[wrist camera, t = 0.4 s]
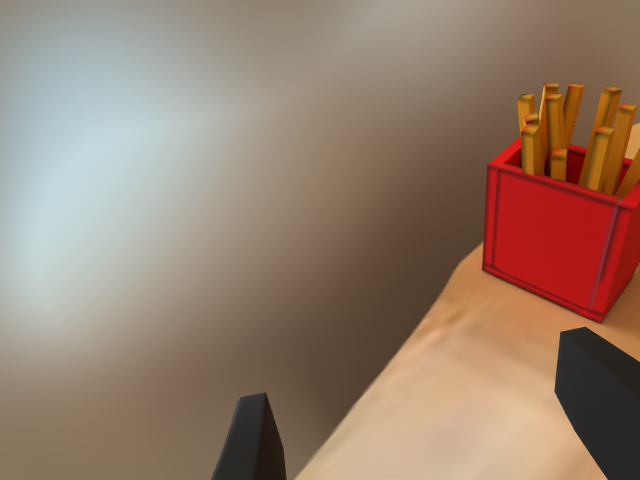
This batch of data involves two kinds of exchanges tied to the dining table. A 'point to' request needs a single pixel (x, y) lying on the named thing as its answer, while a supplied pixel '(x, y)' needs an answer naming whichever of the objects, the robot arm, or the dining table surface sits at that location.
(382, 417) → the dining table surface
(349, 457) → the dining table surface
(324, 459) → the dining table surface
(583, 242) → the french fries container
